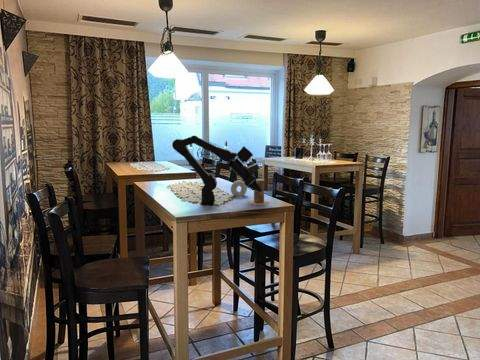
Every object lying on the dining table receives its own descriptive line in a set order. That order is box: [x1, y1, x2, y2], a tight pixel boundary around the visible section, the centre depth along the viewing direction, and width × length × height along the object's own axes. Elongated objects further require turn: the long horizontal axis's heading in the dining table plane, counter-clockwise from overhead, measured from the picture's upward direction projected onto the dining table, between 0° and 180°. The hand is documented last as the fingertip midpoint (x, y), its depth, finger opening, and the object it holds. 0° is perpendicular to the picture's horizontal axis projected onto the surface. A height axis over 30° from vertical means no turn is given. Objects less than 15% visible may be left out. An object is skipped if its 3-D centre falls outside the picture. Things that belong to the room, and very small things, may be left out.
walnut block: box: [253, 178, 265, 203], centre depth 203 cm, size 5×5×12 cm
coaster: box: [247, 199, 271, 206], centre depth 204 cm, size 12×12×1 cm
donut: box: [230, 179, 248, 197], centre depth 221 cm, size 10×4×10 cm, turn 115°
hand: (260, 189), depth 203 cm, fingers open, 9 cm apart
